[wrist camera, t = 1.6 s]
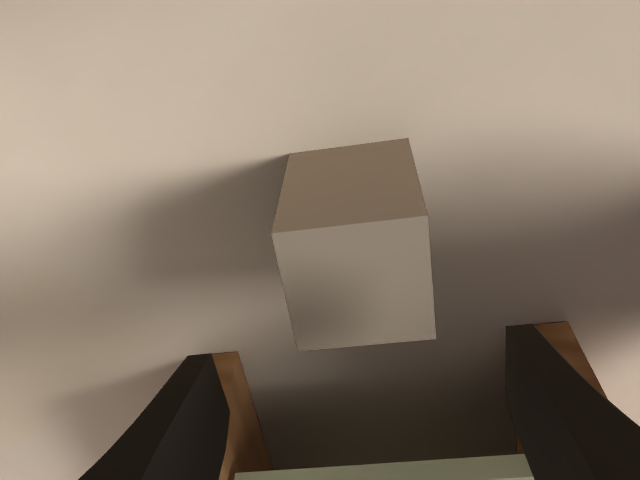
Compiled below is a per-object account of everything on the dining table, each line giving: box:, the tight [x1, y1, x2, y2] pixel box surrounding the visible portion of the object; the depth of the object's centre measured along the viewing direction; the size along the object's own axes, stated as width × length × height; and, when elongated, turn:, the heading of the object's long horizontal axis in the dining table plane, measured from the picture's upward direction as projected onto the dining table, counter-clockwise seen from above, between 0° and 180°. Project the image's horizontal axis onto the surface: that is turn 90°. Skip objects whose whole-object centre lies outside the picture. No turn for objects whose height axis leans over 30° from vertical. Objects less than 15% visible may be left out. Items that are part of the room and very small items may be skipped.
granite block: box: [271, 138, 436, 351], centre depth 20 cm, size 4×4×6 cm
